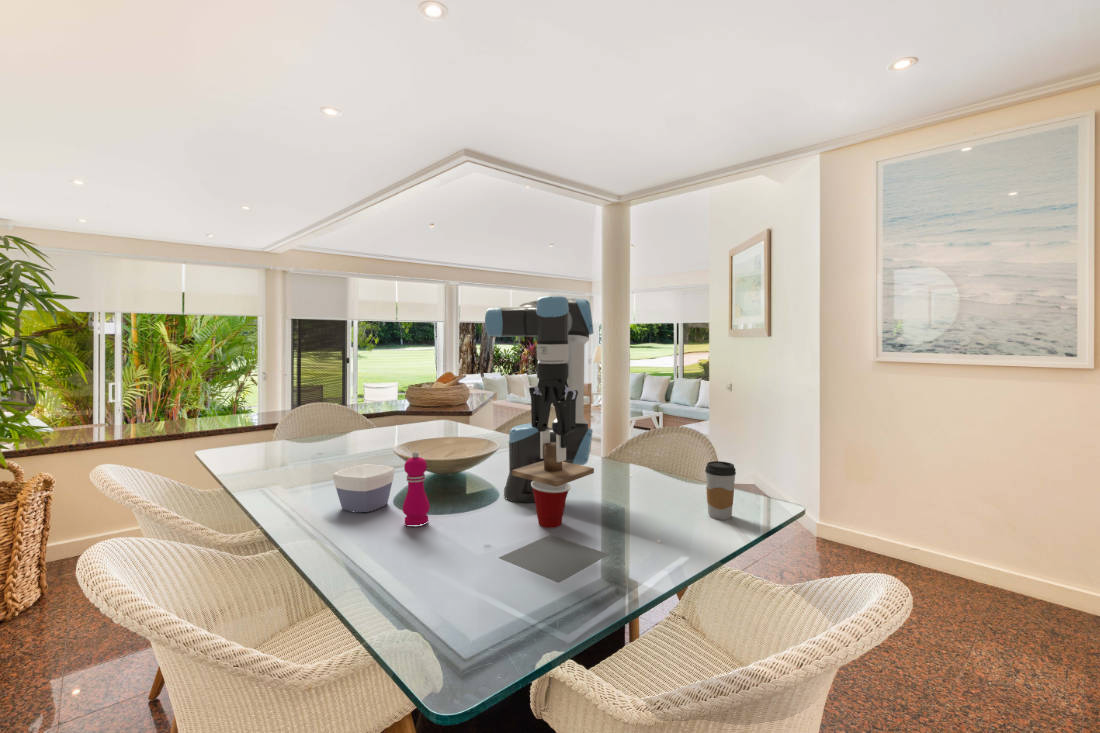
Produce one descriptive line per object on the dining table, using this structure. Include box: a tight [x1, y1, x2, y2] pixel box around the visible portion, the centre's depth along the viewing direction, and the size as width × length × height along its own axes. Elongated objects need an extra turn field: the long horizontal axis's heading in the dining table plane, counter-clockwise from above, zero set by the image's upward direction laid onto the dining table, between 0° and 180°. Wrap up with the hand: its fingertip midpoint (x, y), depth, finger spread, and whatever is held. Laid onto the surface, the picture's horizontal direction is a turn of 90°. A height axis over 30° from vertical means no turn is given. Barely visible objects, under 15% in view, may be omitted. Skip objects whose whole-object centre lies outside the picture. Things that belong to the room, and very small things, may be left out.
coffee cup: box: [704, 460, 737, 521], centre depth 144 cm, size 8×8×15 cm
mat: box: [498, 534, 609, 583], centre depth 116 cm, size 18×18×1 cm
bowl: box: [332, 464, 396, 513], centre depth 154 cm, size 15×15×11 cm
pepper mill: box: [402, 451, 431, 526], centre depth 139 cm, size 7×7×20 cm
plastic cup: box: [531, 481, 572, 529], centre depth 136 cm, size 11×11×12 cm
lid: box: [512, 443, 595, 487], centre depth 122 cm, size 14×14×7 cm
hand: (553, 458), depth 122 cm, fingers closed on lid, 4 cm apart
